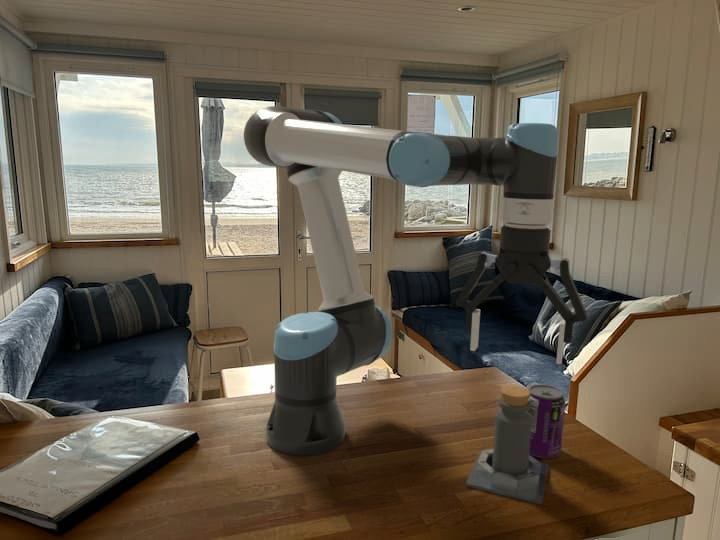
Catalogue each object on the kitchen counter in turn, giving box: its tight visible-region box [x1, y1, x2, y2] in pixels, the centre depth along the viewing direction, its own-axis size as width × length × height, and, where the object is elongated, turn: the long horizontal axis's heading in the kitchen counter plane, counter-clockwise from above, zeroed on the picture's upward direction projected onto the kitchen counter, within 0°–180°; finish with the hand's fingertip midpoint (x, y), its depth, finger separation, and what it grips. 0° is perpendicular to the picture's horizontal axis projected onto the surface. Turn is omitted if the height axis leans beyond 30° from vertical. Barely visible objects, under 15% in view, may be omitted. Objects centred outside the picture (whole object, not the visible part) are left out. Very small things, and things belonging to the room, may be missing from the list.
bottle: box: [492, 385, 532, 476], centre depth 94 cm, size 6×6×15 cm
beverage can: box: [527, 383, 566, 459], centre depth 103 cm, size 7×7×12 cm
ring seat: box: [465, 448, 550, 505], centre depth 96 cm, size 12×12×3 cm
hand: (515, 354), depth 92 cm, fingers open, 13 cm apart
